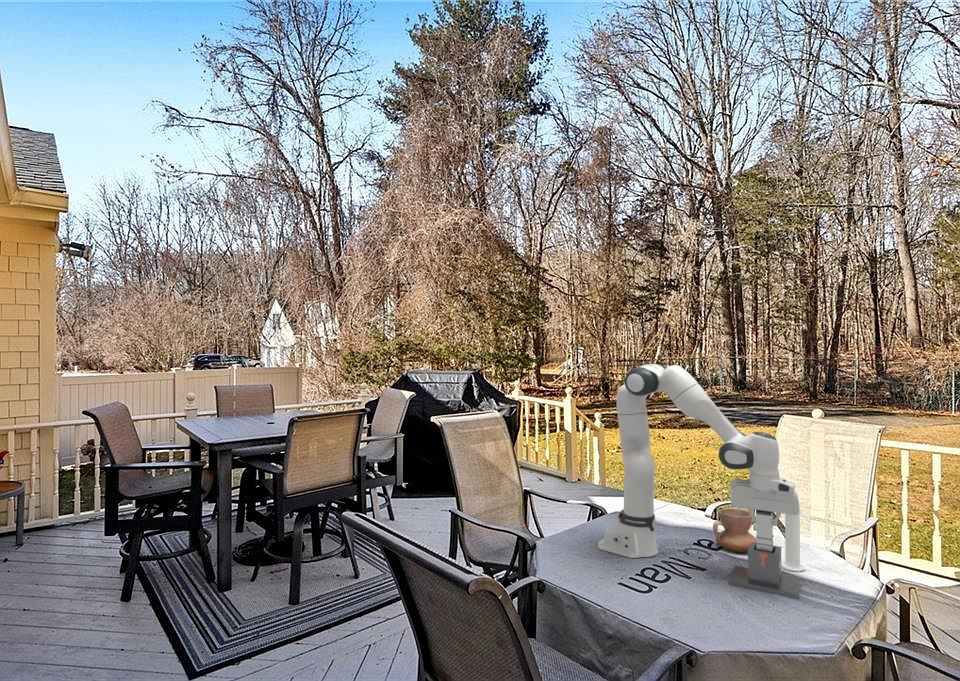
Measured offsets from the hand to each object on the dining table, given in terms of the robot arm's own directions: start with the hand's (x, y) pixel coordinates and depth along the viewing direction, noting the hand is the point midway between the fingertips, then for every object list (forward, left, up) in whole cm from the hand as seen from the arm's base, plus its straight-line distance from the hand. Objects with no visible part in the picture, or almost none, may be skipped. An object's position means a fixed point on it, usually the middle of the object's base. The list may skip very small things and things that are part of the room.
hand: (764, 524), depth 187 cm
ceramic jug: (-13, +29, -20) cm, 37 cm away
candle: (+7, +19, -20) cm, 28 cm away
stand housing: (0, 0, -20) cm, 20 cm away
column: (0, 0, -12) cm, 12 cm away
